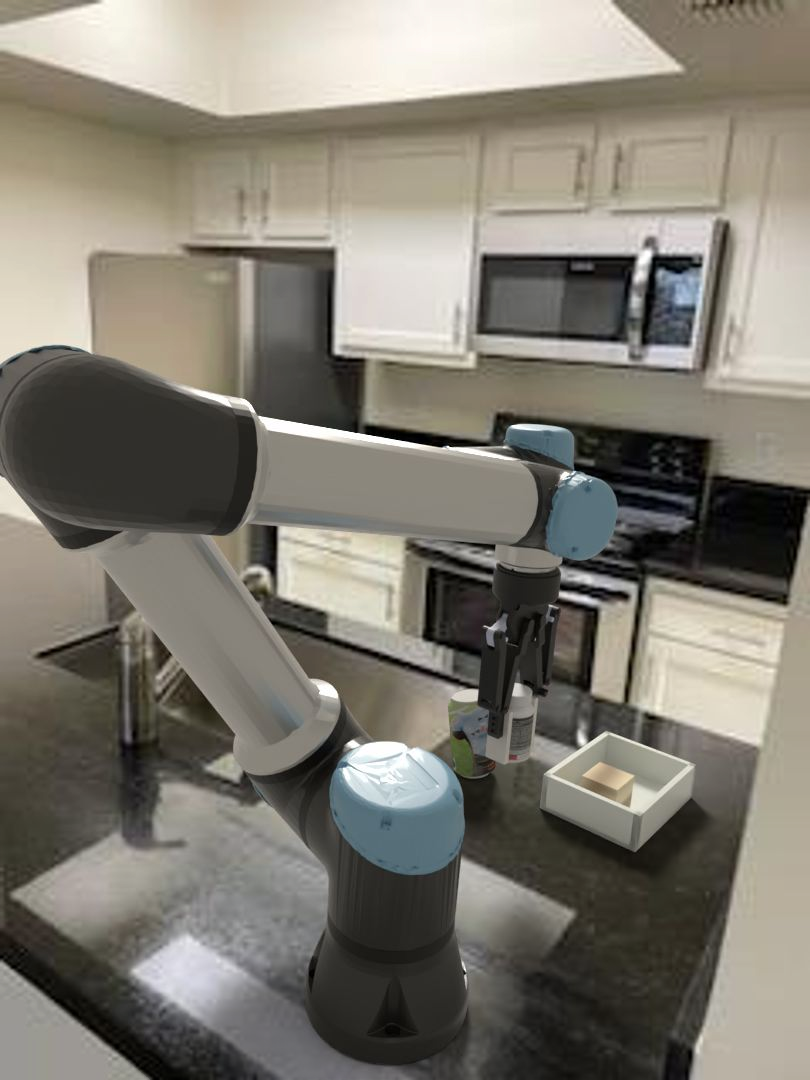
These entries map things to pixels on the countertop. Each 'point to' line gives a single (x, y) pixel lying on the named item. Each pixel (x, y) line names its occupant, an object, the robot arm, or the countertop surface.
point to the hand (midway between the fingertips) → (509, 751)
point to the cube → (609, 783)
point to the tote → (652, 804)
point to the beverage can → (469, 735)
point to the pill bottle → (521, 723)
